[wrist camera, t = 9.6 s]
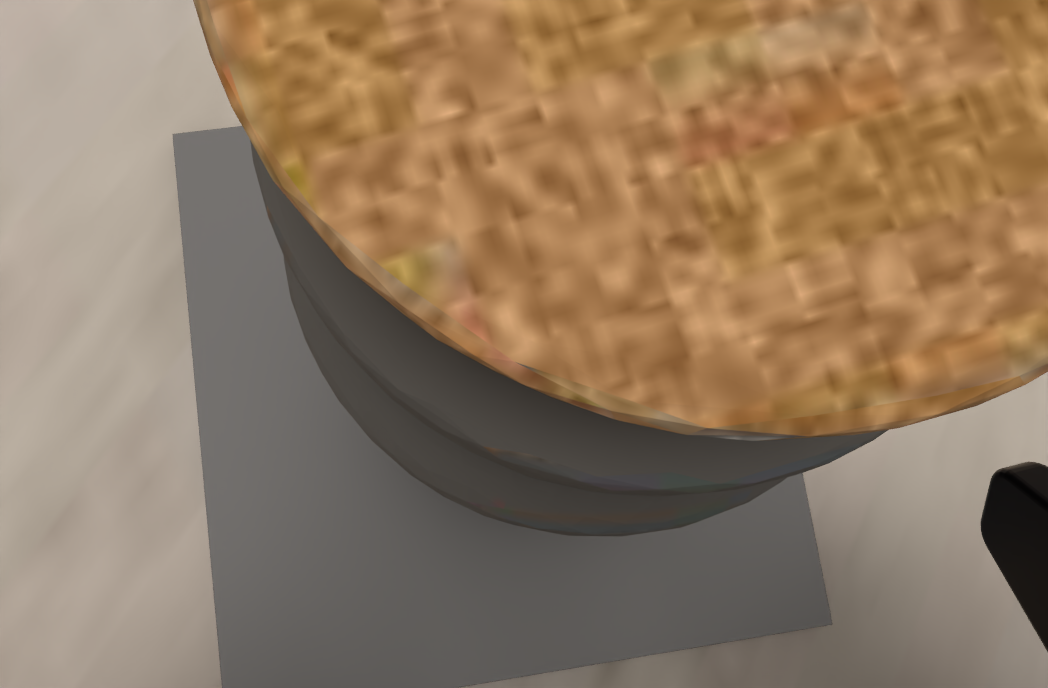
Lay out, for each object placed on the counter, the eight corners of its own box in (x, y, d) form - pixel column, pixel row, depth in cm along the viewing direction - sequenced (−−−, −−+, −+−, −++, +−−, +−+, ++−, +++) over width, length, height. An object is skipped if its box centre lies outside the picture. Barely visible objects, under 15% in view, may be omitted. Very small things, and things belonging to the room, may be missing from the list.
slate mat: (824, 622, 18) (832, 624, 18) (231, 721, 17) (225, 726, 17) (717, 78, 20) (722, 70, 20) (178, 141, 19) (172, 134, 19)
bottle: (668, 241, 19) (1335, -651, 4) (673, 519, 18) (1561, 610, 3) (394, 232, 19) (94, -754, 4) (382, 515, 18) (-80, 595, 3)
